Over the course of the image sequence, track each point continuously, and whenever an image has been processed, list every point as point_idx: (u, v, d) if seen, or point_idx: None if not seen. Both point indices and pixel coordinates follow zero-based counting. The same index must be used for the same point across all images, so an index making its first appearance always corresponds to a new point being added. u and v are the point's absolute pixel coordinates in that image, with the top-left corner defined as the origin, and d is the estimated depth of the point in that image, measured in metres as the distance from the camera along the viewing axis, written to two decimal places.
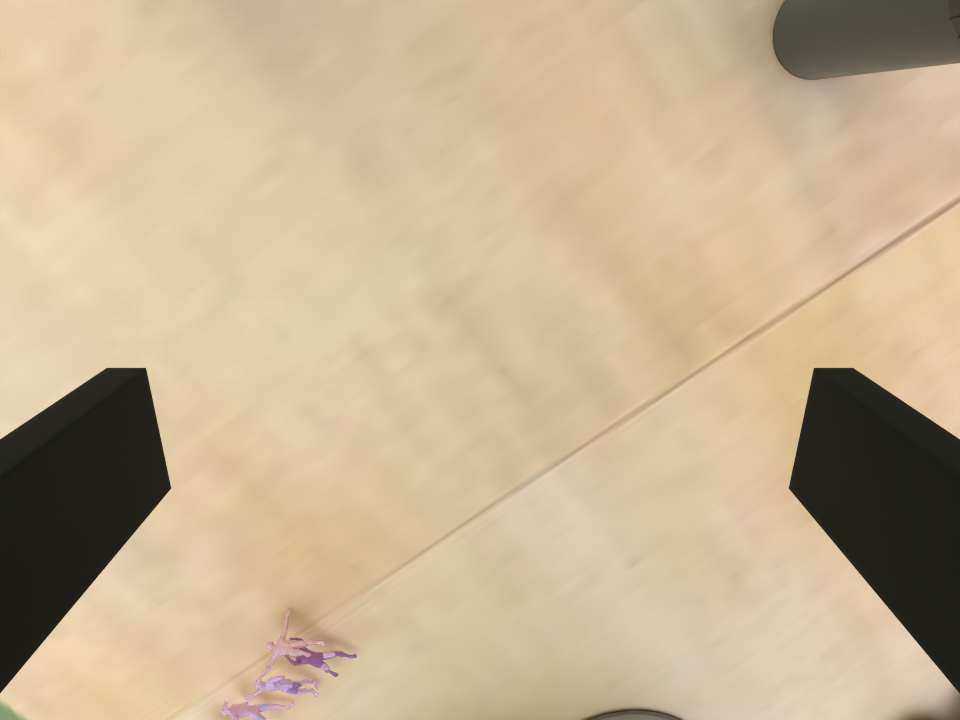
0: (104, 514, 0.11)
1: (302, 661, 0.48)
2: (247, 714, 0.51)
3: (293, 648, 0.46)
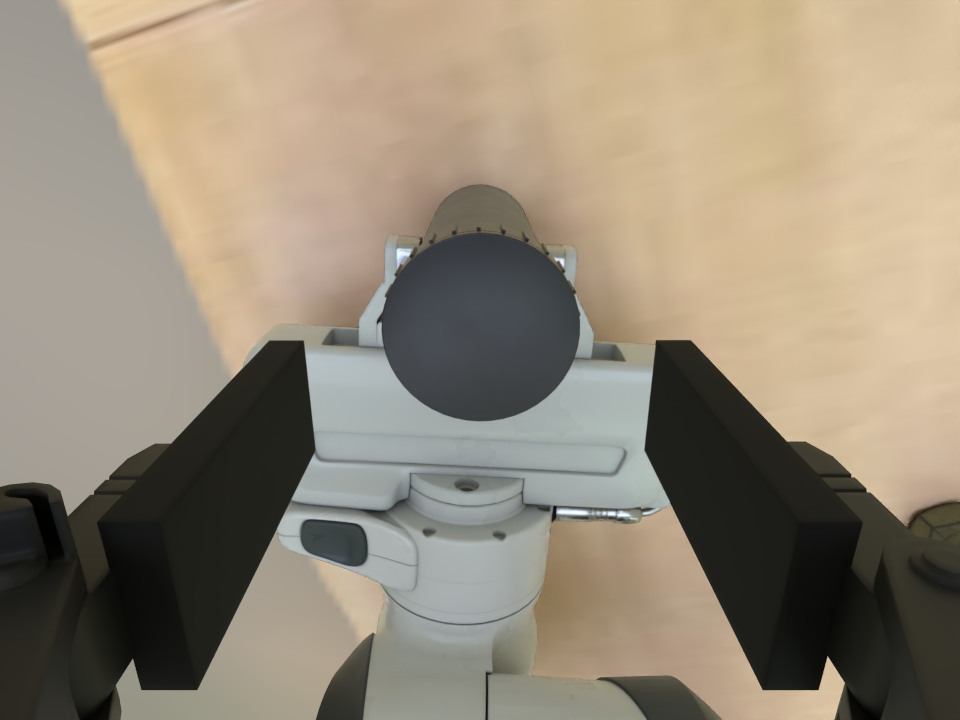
0: (284, 465, 0.12)
1: None
2: None
3: None
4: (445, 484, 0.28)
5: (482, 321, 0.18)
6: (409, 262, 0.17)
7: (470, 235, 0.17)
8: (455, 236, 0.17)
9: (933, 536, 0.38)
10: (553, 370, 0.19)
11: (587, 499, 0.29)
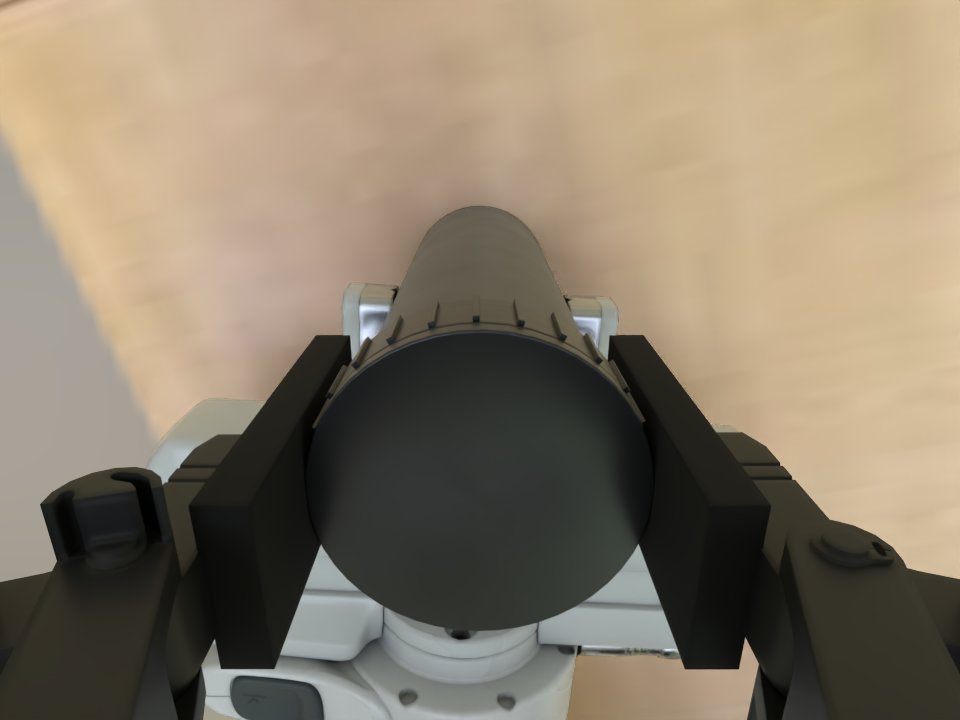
0: None
1: None
2: None
3: None
4: (431, 627, 0.20)
5: (482, 478, 0.10)
6: (350, 380, 0.10)
7: (460, 334, 0.09)
8: (433, 336, 0.09)
9: None
10: (605, 555, 0.11)
11: (626, 639, 0.21)
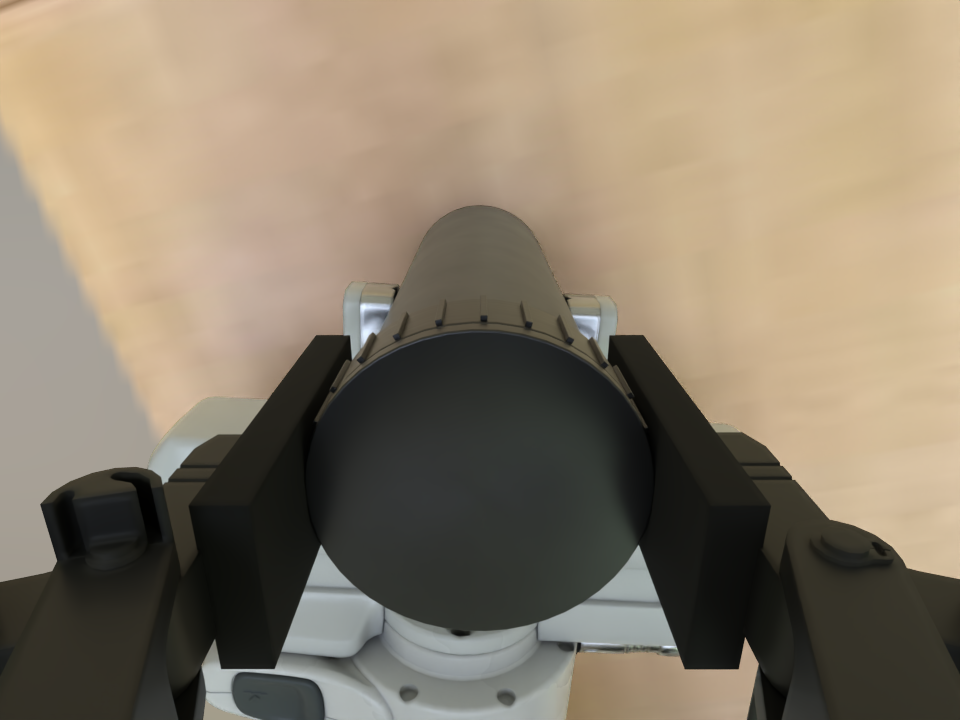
0: None
1: None
2: None
3: None
4: None
5: (458, 500, 0.10)
6: (406, 615, 0.11)
7: (328, 554, 0.11)
8: (340, 571, 0.11)
9: None
10: (509, 359, 0.09)
11: (625, 636, 0.21)
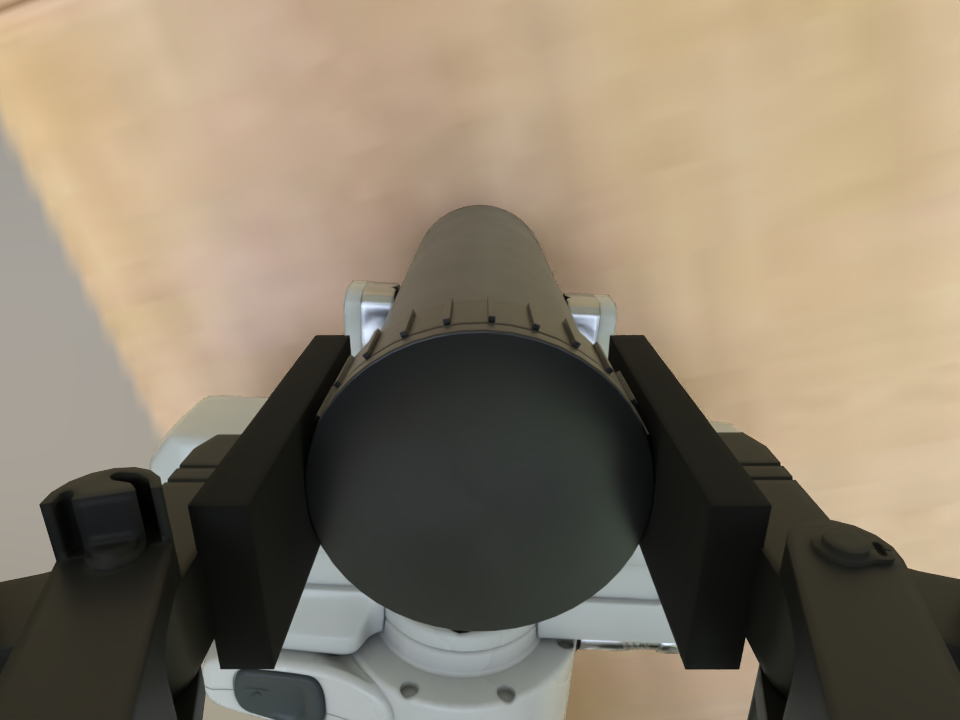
0: None
1: None
2: None
3: None
4: None
5: (490, 513, 0.10)
6: (648, 518, 0.10)
7: (588, 598, 0.11)
8: (606, 584, 0.11)
9: None
10: (333, 514, 0.10)
11: (624, 633, 0.22)
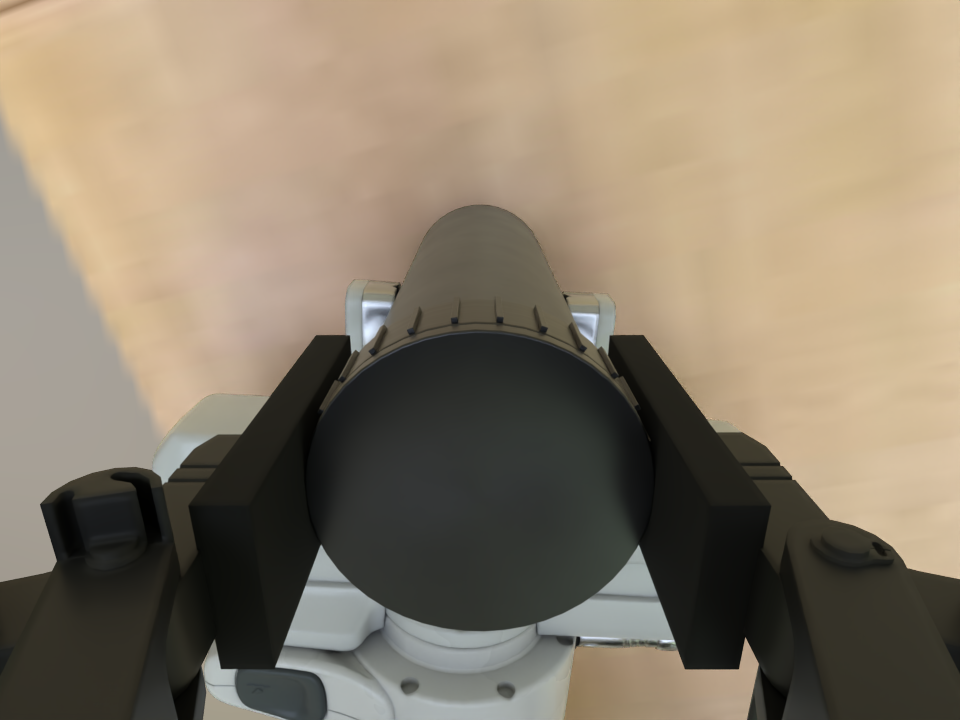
0: None
1: None
2: None
3: None
4: None
5: (494, 483, 0.10)
6: (449, 333, 0.09)
7: (572, 356, 0.09)
8: (548, 343, 0.09)
9: None
10: (541, 602, 0.11)
11: (623, 630, 0.22)
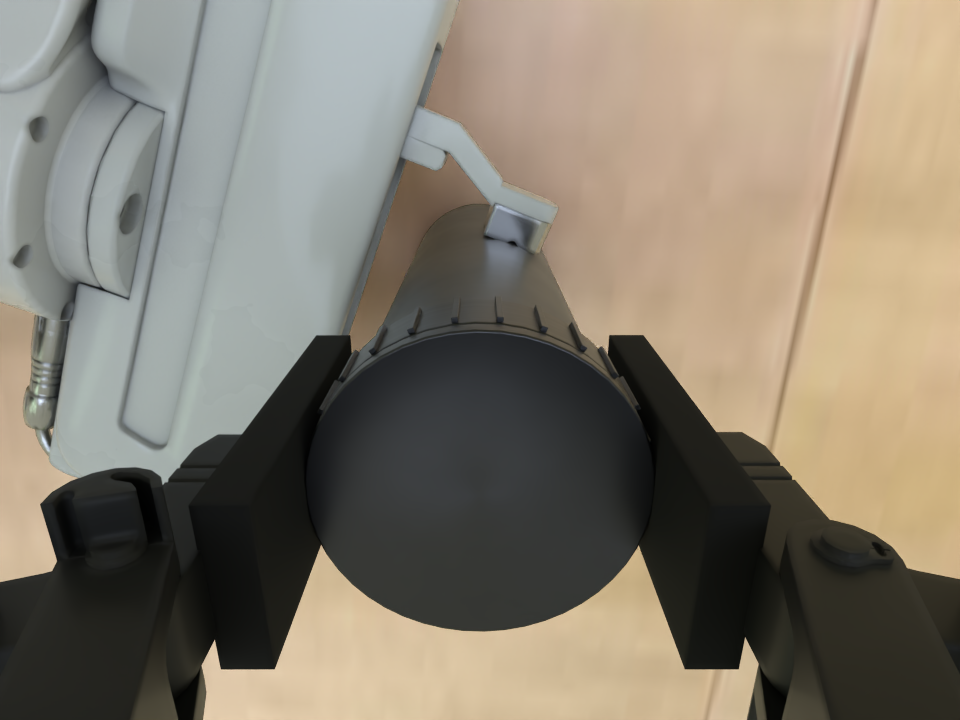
0: None
1: None
2: None
3: None
4: (136, 178, 0.16)
5: (494, 483, 0.10)
6: (449, 333, 0.09)
7: (572, 356, 0.09)
8: (548, 342, 0.09)
9: None
10: (541, 602, 0.11)
11: (78, 381, 0.18)
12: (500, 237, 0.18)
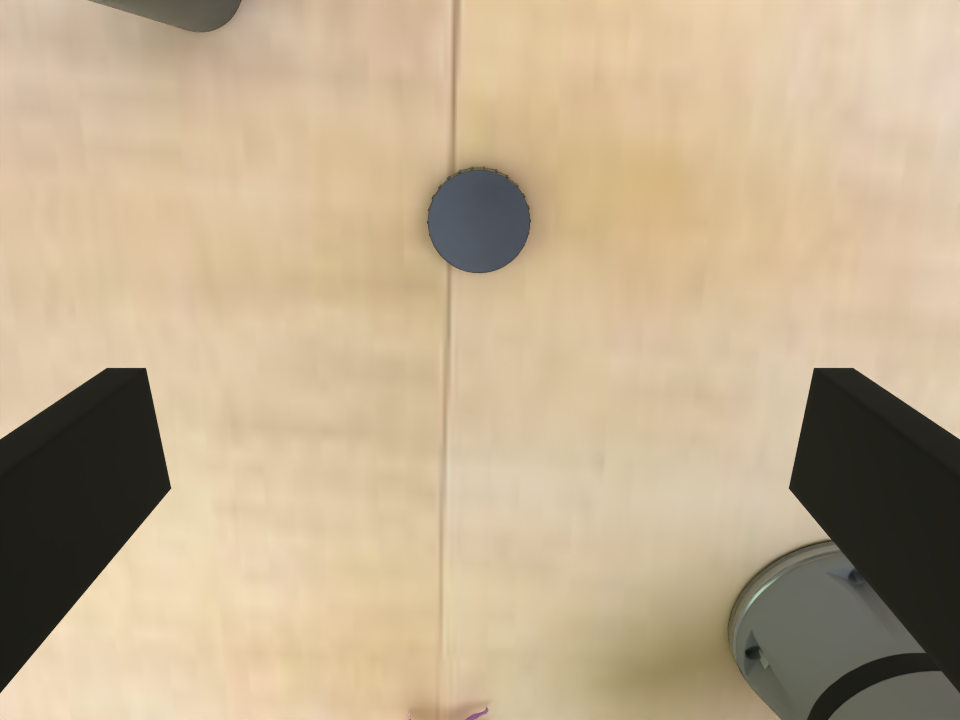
0: (104, 514, 0.11)
1: None
2: None
3: None
4: None
5: (483, 218, 0.35)
6: (470, 171, 0.34)
7: (503, 177, 0.34)
8: (497, 173, 0.34)
9: None
10: (498, 261, 0.36)
11: None
12: None
